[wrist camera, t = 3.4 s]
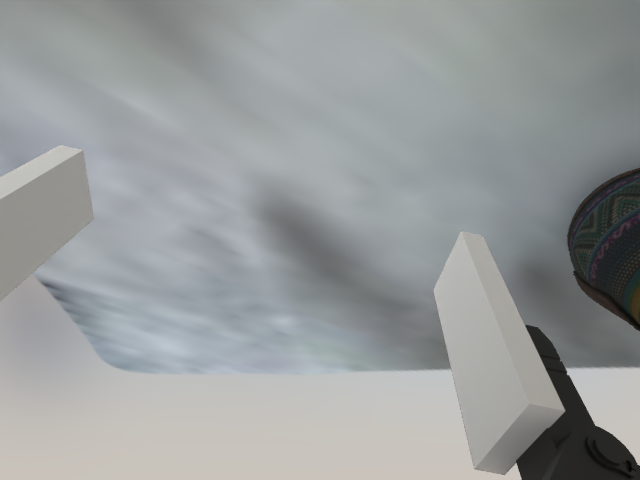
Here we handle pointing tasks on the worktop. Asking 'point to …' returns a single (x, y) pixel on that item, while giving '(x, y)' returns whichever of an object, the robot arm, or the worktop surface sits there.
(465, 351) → the robot arm
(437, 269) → the worktop surface
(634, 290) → the mate gourd
